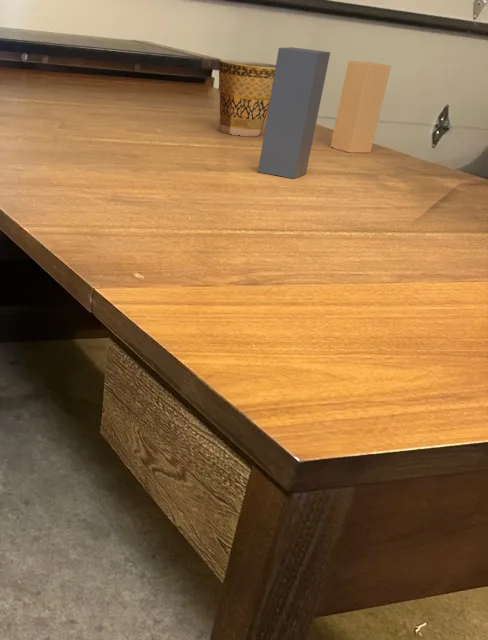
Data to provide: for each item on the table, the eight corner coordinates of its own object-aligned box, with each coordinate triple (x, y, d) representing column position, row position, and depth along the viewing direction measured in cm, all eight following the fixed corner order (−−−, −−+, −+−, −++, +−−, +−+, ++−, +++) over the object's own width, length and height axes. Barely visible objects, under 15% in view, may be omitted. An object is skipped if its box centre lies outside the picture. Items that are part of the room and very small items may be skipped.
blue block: (270, 167, 110) (291, 47, 102) (306, 174, 108) (330, 52, 100) (257, 172, 106) (278, 47, 98) (294, 179, 104) (318, 52, 97)
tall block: (350, 147, 132) (370, 62, 125) (370, 152, 129) (391, 65, 122) (330, 147, 130) (348, 60, 123) (349, 152, 127) (369, 64, 120)
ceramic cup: (267, 141, 130) (279, 69, 124) (205, 132, 131) (214, 61, 126) (275, 130, 140) (286, 64, 135) (218, 123, 142) (227, 57, 136)
